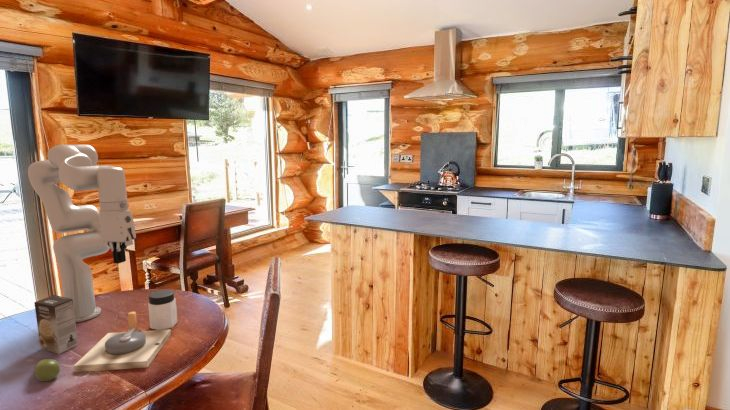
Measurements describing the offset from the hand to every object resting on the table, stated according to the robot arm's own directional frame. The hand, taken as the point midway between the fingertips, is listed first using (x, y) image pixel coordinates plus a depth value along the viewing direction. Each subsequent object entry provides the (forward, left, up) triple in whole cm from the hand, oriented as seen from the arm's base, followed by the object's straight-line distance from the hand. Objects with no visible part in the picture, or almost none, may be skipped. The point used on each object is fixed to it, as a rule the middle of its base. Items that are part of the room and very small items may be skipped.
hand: (119, 262), depth 131 cm
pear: (-14, -19, -28) cm, 36 cm away
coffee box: (-20, -2, -27) cm, 34 cm away
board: (+3, -8, -27) cm, 28 cm away
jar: (+8, +10, -27) cm, 30 cm away
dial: (+3, -6, -25) cm, 26 cm away
